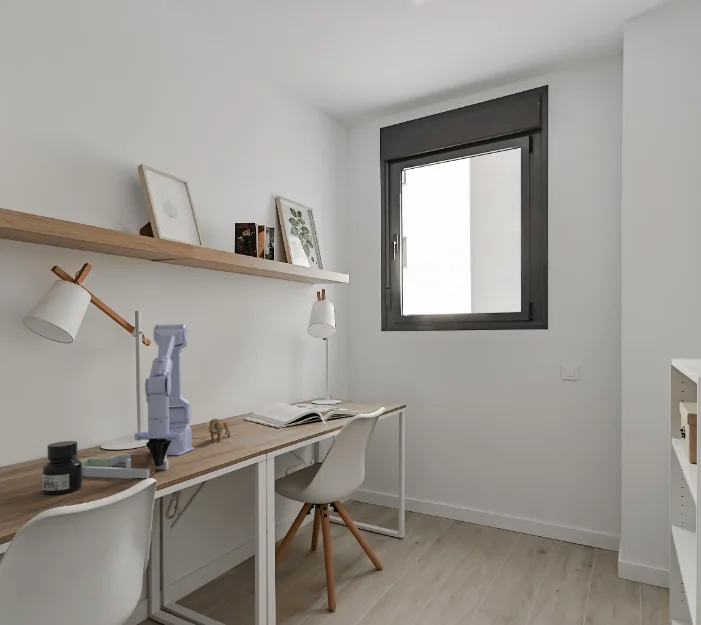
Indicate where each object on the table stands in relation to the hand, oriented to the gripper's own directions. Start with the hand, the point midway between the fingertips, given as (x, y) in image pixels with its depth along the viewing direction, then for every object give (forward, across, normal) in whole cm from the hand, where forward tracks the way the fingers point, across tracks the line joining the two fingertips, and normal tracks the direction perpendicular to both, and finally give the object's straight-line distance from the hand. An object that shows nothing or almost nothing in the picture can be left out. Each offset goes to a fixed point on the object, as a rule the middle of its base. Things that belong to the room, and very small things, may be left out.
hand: (159, 465), depth 142 cm
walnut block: (+2, -5, 0) cm, 6 cm away
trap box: (+2, -14, +3) cm, 15 cm away
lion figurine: (+3, -4, +44) cm, 44 cm away
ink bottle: (+3, -17, -17) cm, 24 cm away
